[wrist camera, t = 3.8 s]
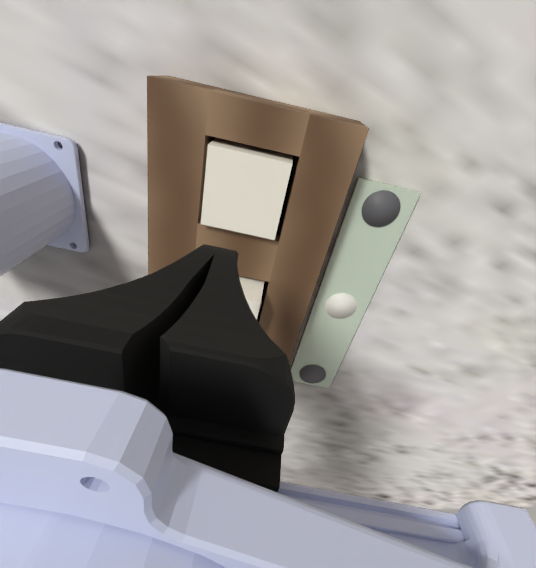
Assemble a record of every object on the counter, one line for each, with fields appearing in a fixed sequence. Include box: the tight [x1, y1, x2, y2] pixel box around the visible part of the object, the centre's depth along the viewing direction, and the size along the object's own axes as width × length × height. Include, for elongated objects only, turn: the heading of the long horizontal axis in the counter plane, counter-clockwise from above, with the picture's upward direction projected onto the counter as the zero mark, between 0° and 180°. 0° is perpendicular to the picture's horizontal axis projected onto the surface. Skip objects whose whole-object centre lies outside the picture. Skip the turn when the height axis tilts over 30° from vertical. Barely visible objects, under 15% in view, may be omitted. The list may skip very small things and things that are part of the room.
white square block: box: [201, 138, 293, 240], centre depth 19 cm, size 4×4×3 cm
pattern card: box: [291, 178, 421, 388], centre depth 25 cm, size 4×19×1 cm, turn 169°
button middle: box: [239, 276, 264, 319], centre depth 22 cm, size 4×4×3 cm
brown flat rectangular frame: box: [147, 76, 369, 362], centre depth 24 cm, size 11×25×3 cm, turn 169°
